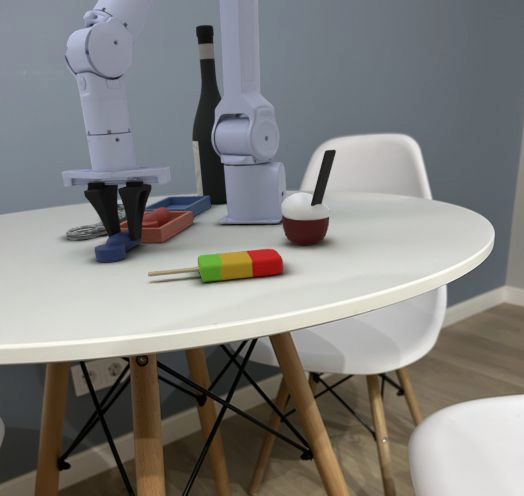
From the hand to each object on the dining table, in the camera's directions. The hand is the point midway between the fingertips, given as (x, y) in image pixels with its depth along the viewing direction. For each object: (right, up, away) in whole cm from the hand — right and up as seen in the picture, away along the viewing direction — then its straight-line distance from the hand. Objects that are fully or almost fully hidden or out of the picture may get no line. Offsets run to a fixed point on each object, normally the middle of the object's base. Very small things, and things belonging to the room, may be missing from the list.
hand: (125, 239), depth 79 cm
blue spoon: (0, -2, -1) cm, 2 cm away
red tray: (+2, +3, +10) cm, 11 cm away
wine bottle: (+10, +14, +33) cm, 38 cm away
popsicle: (+13, -7, -13) cm, 20 cm away
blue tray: (+4, +9, +24) cm, 26 cm away
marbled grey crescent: (-8, +7, +21) cm, 23 cm away
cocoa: (+25, -1, -2) cm, 25 cm away
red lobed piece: (+2, +3, +10) cm, 11 cm away
